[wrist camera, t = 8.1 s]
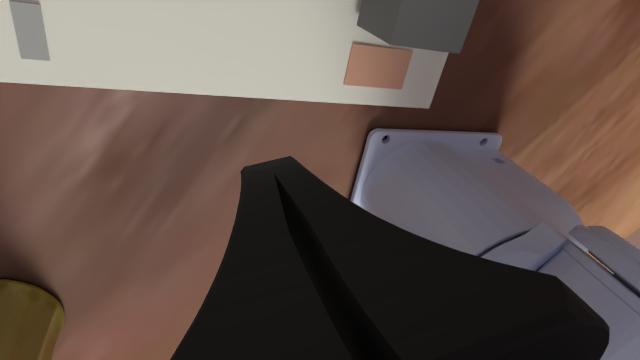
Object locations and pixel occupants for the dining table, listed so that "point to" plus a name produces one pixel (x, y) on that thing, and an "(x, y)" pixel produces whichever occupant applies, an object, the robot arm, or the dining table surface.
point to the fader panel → (214, 50)
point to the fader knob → (419, 22)
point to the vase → (28, 321)
